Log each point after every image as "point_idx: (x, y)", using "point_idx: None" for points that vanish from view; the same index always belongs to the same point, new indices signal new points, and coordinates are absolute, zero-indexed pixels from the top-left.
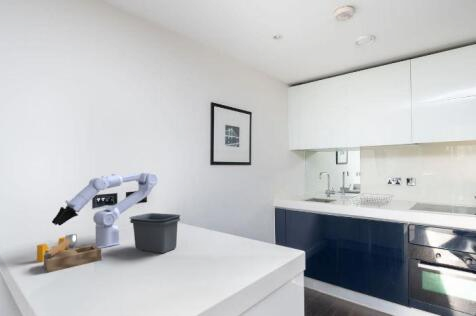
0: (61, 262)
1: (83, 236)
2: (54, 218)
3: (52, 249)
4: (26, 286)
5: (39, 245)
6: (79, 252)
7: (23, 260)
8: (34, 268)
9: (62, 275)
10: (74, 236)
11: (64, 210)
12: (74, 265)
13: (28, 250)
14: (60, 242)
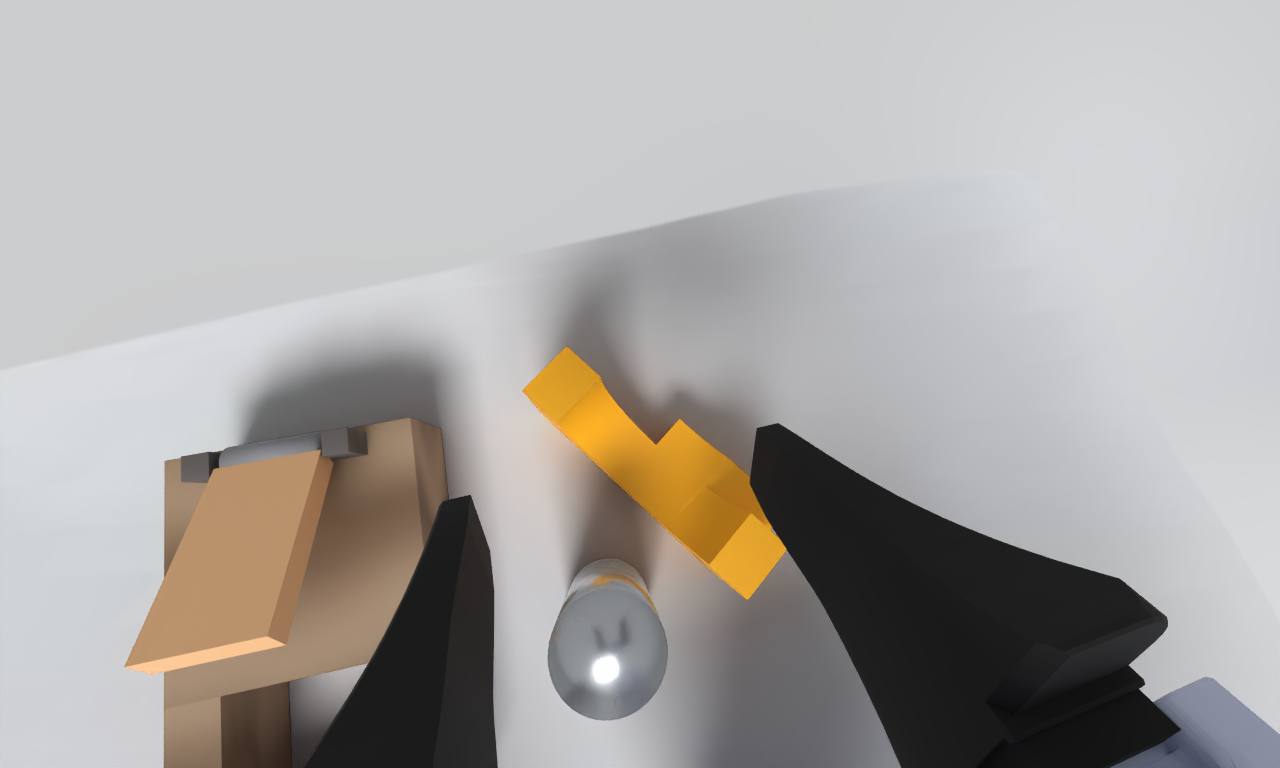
0: None
1: (1253, 695)
2: (792, 460)
3: (282, 484)
4: (51, 377)
5: (547, 366)
6: None
7: (669, 299)
8: (410, 381)
9: (85, 562)
10: (560, 690)
11: (410, 747)
12: None
13: (940, 298)
14: (719, 524)
